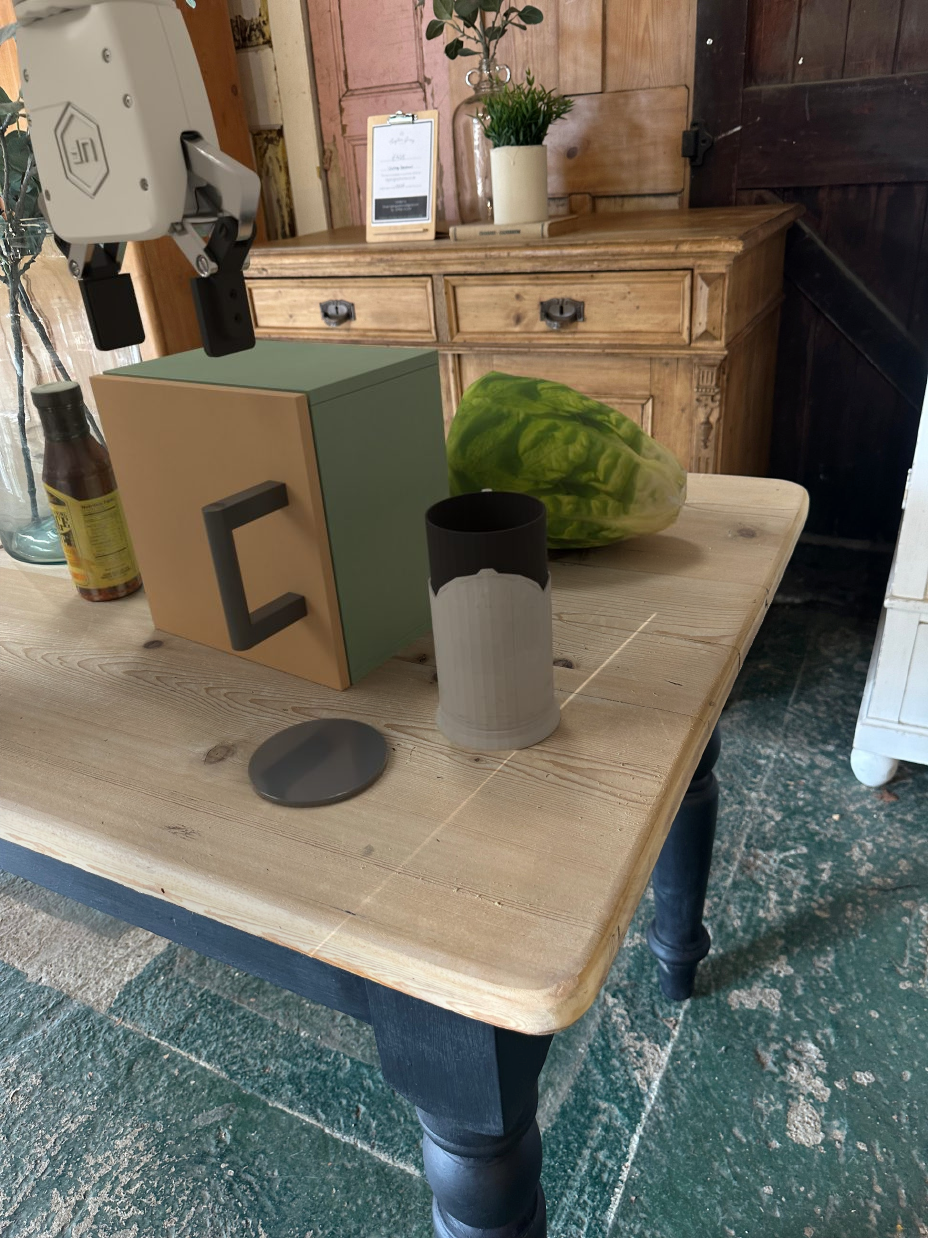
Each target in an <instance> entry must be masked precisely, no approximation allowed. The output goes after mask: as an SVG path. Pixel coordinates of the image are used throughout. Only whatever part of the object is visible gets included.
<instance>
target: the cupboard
mask: <svg viewBox="0 0 928 1238" xmlns="http://www.w3.org/2000/svg"><path fill="white" fill-rule="evenodd" d="M102 374H103V375H114V376H124V377H135V378H145V379H155V380H166V381H176V382H187V383H197V384H208V385H218V386H228V387H239V388H249V389H260V390H270V391H281V392H291V393H301V394H306V397H307V404H308V410H309V417H310V423H311V430H312V437H313V443H314V450H315V456H316V463H317V470H318V476H319V483H320V489H321V496H322V502H323V509H324V516H325V522H326V529H327V535H328V542H329V549H330V555H331V562H332V568H333V575H334V582H335V588H336V595H337V601H338V608H339V615H340V621H341V628H342V634H343V641H344V647H345V654H346V661H347V667H348V674H349V680H350V685H354V684H356V683H357V682H359V681H360V680H361V679H363V678H364V677H366V676H368V675H369V674H370V673H372V672H373V671H374V670H376V669H378V668H379V667H381V665H383V664H385V663H386V662H387V661H389V660H390V659H391V658H393V657H394V656H396V655H397V654H398V653H400V652H401V651H403V650H404V649H406V648H407V647H408V646H410V645H412V644H413V643H414V642H416V641H417V640H418V639H420V638H421V637H423V636H424V635H425V634H427V633H428V632H430V631H431V630H433V625H432V614H431V604H430V594H429V584H428V579H429V578H431V575H430V565H429V554H428V544H427V533H426V523H425V513H426V511H427V510H428V509H429V507H431V506H432V505H434V504H435V503H437V502H439V501H441V500H444V499H447V498H450V493H449V481H448V468H447V456H446V432H445V431H446V430H445V421H444V420H445V418H444V408H443V395H442V383H441V382H442V381H441V370H440V356H439V350H438V348H436V349H435V348H417V347H401V346H400V347H397V346H382V345H381V346H378V345H360V344H359V345H358V344H344V343H343V344H342V343H323V342H322V343H321V342H302V341H286V340H285V341H282V340H265V339H264V340H263V339H256V344H255V347H254V348H252V349H249V350H245V351H241V352H237V353H233V354H229V355H226V356H222V357H208V356H207V355H206V353H205V352H204V348H203V347H200V348H195V349H190V350H187V351H182V352H177V353H173V354H170V355H165V356H161V357H157V358H152V359H148V360H144V361H140V362H136V363H131V364H128V365H123V366H119V367H113V368H110V369H106V370H103V371H102Z"/></svg>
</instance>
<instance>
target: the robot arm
mask: <svg viewBox="0 0 928 1238" xmlns="http://www.w3.org/2000/svg"><path fill="white" fill-rule="evenodd" d="M10 1H11V5H12V7H13V12H14V15H15V19H16V23H17V25H19V27H18V28H15V43H16V56H17V66H18V72H19V81H20V88H21V94H22V101H23V106H24V111H25V118H26V121H27V128H28V132H29V137H30V142H31V146H32V152H33V156H34V161H35V165H36V170H37V174H38V179H39V182H40V187H41V191H40V193H39V195H38V197H37V206H38V208H39V210H40V212H41V214H42V216H43V218H44V219H45V221H46V223H47V225H48V226H49V228H50V231H51V232H52V233H53V241H54V244H55V245H56V247H57V249H58V250H59V251H60V252H61V254H62V255H63V256H64V258H65V259H66V260H67V269H68V272H69V274H70V276H71V277H72V278H73V279H74V280H77V284H78V287H79V291H80V294H81V299H82V302H83V306H84V311H85V314H86V317H87V321H88V325H89V328H90V333H91V336H92V340H93V344H94V347H95V348H96V350H98V352H99V351H100V352H110V351H111V352H112V351H114V350H120V349H124V348H128V347H132V346H137V345H142V344H143V343H145V341H146V333H145V332H146V331H145V329H144V325H143V320H142V315H141V311H140V308H139V303H138V299H137V295H136V292H135V291H136V290H135V287H134V283H133V278H132V275H131V272H123V273H121V271H122V267H123V263H124V258H125V255H126V250H127V246H128V242H141V241H152V240H157V239H160V238H162V237H164V236H165V237H167V236H168V237H169V236H170V237H171V238H172V240H173V241H174V243H175V244H176V246H178V248H179V249H180V251H181V252H182V254H183V255H184V256H185V258H186V259H187V260H188V261H189V263H190V265H191V266H192V267H193V268H194V270H195V271H196V273H197V274H198V275H199V276H195V277H189V278H188V279H189V283H190V286H189V287H190V290H191V291H190V292H191V296H192V300H193V305H194V310H195V315H196V319H197V324H198V329H199V333H200V334H199V335H200V338H201V339H200V340H201V343H202V348H204V352H205V353H206V355H207V356H208V357H222V356H226V355H229V354H233V353H237V352H241V351H245V350H249V349H252V348H254V347H255V344H256V340H257V338H256V334H255V328H254V324H253V318H252V312H251V307H250V302H249V295H248V290H247V286H246V285H247V284H246V280H245V279H246V278H245V273H244V272H245V271H248V270H249V268H250V267H251V256H250V250H251V248H252V245H253V243H254V242H255V239H256V237H257V234H258V225H257V222H256V220H255V219H257V214H258V208H259V203H260V195H261V190H262V189H261V188H262V184H261V179H260V177H259V175H258V174H257V173H256V172H255V171H253V170H252V169H251V168H249V167H247V166H245V165H244V164H242V163H241V162H239V160H236V159H234V158H233V157H231V156H230V155H228V154H227V153H225V152H223V151H222V150H221V147H220V143H219V138H218V134H217V130H216V126H215V121H214V117H213V112H212V108H211V104H210V101H209V97H208V93H207V89H206V86H205V82H204V79H203V76H202V72H201V68H200V64H199V62H198V59H197V56H196V51H195V49H194V45H193V43H192V39H191V36H190V34H189V31H188V28H187V25H186V22H185V19H184V17H183V14H182V12H181V9H180V8H178V7H177V4H176V0H10ZM205 237H207V238H208V239H209V240H208V242H207V243H206V241H205V240H204V239H203V238H205ZM101 244H103V245H102V246H101Z"/></svg>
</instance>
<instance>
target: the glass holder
mask: <svg viewBox="0 0 928 1238" xmlns="http://www.w3.org/2000/svg"><path fill="white" fill-rule="evenodd" d="M425 523H426V533H427V544H428V554H429V565H430V575H431V578H429V579H428V584H429V594H430V604H431V614H432V625H433V628H432V633H433V644H434V653H435V654H434V655H435V656H434V657H435V664H436V665H435V666H436V675H437V686H438V687H437V688H438V695H439V701H438V706H437V708H436V710H435V715H434V723H435V725H436V728H437V730H438V731H439V732H440V734H441V735H442V736H443V737H444V738H445V739H447V740H448V741H450V742H452V743H454V744H455V745H458V746H461V747H463V748H467V749H470V750H474V751H475V750H476V751H482V752H505V751H512V750H515V751H518V750H523V749H525V748H528V747H531V746H533V745H536V744H538V743H541V742H542V741H544V740H545V739H548V737H550V736H551V735H552V734H553V733H554V732H555V731H556V729H557V728H558V727H559V724H560V722H561V719H562V711H561V706H560V704H559V702H558V700H557V699H556V696H555V689H554V688H555V686H554V651H553V650H554V649H553V647H554V645H553V614H552V613H553V611H552V609H553V608H552V572H551V571H549V564H548V561H549V560H548V548H547V523H546V506H545V504H544V503H543V502H542V501H541V500H539V499H537V498H535V497H533V496H530V495H526V494H522V493H516V492H507V491H492V489H483V490H482V492H474V493H467V494H462V495H457V496H453V497H450V498H447V499H444V500H441V501H439V502H437V503H435V504H434V505H432V506H431V507H429V509H428V510H427V511H426V513H425Z"/></svg>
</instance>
